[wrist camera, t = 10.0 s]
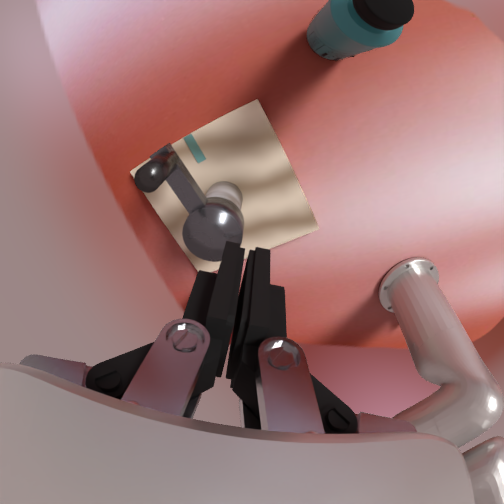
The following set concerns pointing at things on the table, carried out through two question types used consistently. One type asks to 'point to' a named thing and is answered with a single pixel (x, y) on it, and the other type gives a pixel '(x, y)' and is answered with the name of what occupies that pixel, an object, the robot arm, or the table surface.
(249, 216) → the square base with post
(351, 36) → the beverage bottle
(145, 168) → the crank handle
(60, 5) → the table surface
